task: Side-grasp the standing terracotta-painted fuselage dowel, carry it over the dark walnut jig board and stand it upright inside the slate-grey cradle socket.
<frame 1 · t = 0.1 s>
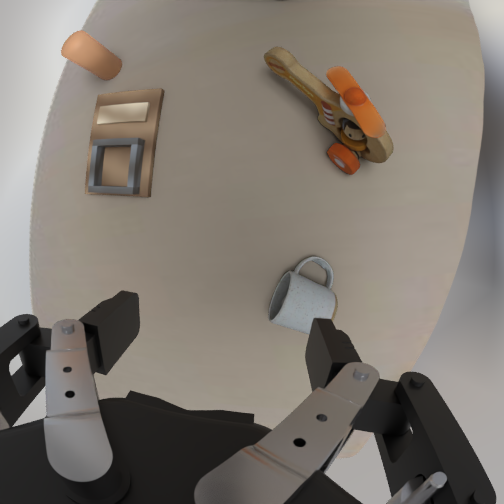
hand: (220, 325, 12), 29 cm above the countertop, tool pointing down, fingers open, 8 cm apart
ceramic mug: (302, 287, 42), on the countertop
jig: (122, 142, 38), on the countertop
toy helicopter: (323, 118, 37), on the countertop
fuselage dowel: (110, 68, 35), on the countertop
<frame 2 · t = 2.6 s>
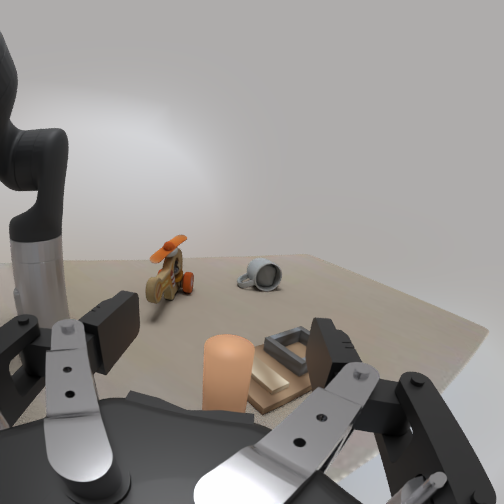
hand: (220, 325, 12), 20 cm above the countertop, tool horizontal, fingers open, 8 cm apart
ceramic mug: (257, 287, 75), on the countertop
jig: (281, 370, 40), on the countertop
toy helicopter: (168, 300, 59), on the countertop
fuselage dowel: (222, 428, 27), on the countertop
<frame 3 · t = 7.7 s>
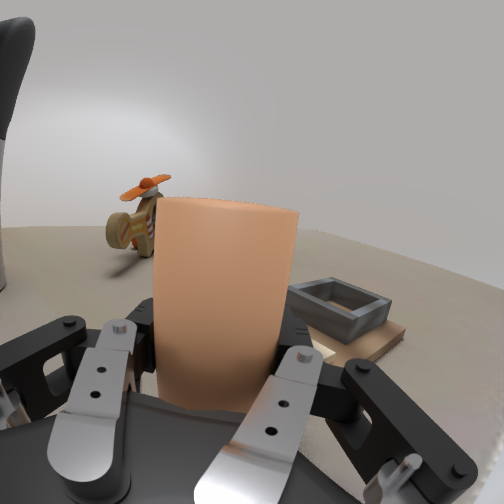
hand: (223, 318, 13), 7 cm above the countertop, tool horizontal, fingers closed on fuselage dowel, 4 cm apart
jig: (311, 339, 24), on the countertop
toy helicopter: (143, 258, 44), on the countertop
fuselage dowel: (209, 446, 12), on the countertop, touching gripper
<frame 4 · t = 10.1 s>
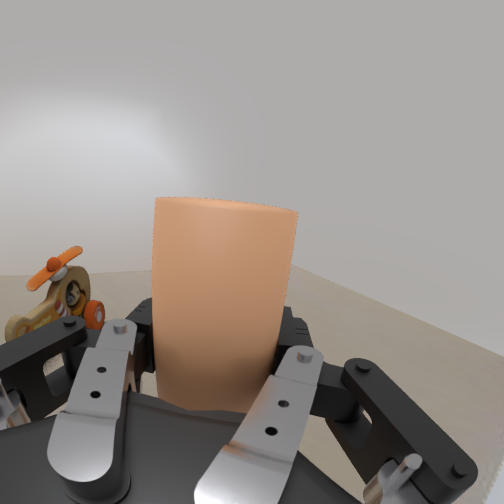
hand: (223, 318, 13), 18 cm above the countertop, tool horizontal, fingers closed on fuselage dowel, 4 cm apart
toy helicopter: (63, 342, 33), on the countertop
fuselage dowel: (209, 447, 12), point 11 cm above the countertop, touching gripper
when the fingers open (9 cm above the countertop, at t = 12.9 s): fuselage dowel stays where it is, resting on jig.
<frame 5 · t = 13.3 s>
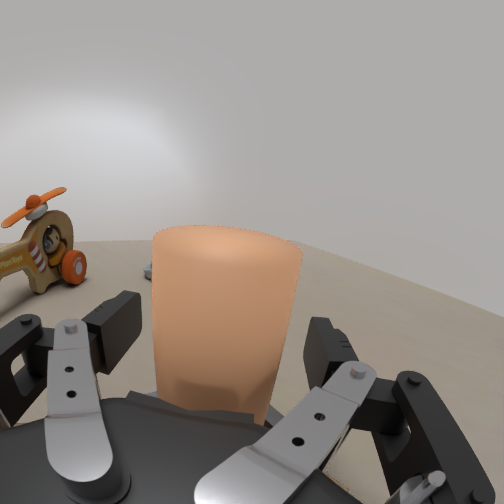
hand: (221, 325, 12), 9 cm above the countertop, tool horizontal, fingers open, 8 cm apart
jig: (150, 495, 9), on the countertop
toy helicopter: (37, 294, 28), on the countertop
fuselage dowel: (209, 458, 12), point 1 cm above the countertop, touching jig
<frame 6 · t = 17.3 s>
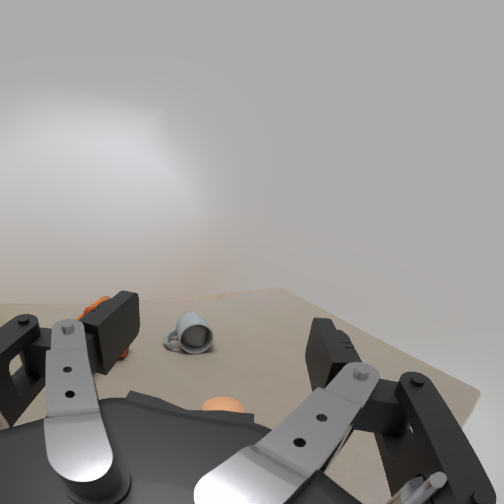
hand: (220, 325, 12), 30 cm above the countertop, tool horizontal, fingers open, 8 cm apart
ceramic mug: (187, 346, 60), on the countertop
fuselage dowel: (220, 463, 29), point 1 cm above the countertop, touching jig
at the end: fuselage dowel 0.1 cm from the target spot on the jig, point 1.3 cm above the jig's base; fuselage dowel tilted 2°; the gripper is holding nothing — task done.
